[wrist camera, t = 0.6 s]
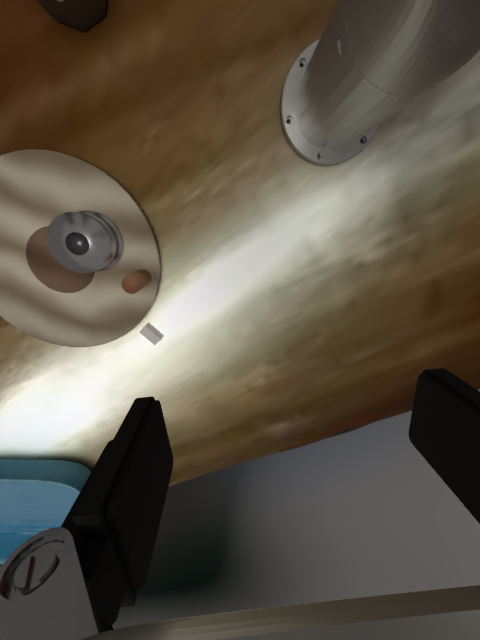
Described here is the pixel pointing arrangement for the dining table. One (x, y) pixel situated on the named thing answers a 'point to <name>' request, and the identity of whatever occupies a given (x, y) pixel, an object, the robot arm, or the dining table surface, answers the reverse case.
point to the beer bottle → (76, 11)
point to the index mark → (151, 333)
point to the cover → (85, 241)
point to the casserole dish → (35, 498)
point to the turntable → (48, 274)
